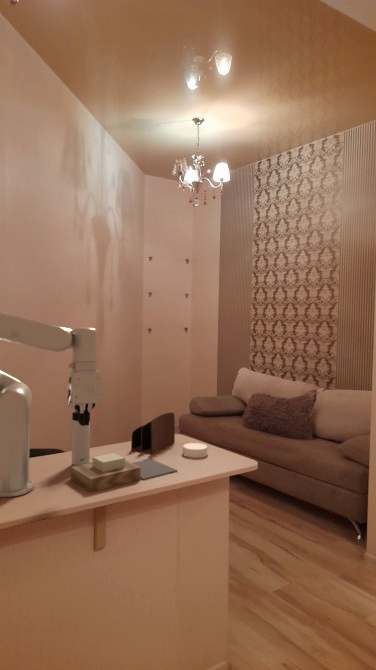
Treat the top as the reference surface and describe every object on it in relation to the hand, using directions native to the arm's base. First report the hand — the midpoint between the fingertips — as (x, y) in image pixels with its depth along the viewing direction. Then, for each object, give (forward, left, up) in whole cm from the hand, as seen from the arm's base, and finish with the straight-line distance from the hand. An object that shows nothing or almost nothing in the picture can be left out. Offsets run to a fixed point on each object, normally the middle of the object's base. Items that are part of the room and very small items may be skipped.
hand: (84, 424), depth 140 cm
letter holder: (+43, +23, -20) cm, 52 cm away
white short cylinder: (+50, +4, -20) cm, 54 cm away
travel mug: (+8, +18, -19) cm, 28 cm away
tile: (+9, 0, -14) cm, 16 cm away
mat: (+24, 0, -19) cm, 31 cm away
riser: (+8, 0, -19) cm, 21 cm away
